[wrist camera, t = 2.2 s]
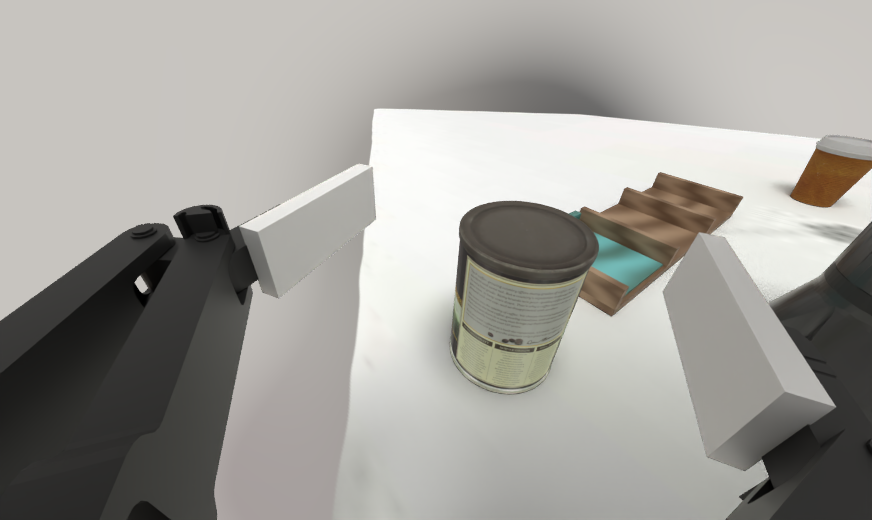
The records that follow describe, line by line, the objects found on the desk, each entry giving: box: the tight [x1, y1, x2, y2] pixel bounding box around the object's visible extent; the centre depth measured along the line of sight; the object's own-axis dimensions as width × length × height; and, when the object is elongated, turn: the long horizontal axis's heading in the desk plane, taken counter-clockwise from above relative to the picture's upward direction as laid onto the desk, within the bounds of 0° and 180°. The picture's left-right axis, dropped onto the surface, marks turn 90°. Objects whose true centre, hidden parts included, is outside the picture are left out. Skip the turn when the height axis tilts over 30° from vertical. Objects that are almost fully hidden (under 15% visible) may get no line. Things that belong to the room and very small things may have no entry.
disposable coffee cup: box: [791, 135, 872, 207], centre depth 63 cm, size 10×10×12 cm
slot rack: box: [569, 172, 743, 316], centre depth 51 cm, size 14×43×4 cm, turn 127°
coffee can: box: [450, 201, 599, 394], centre depth 28 cm, size 10×10×14 cm
